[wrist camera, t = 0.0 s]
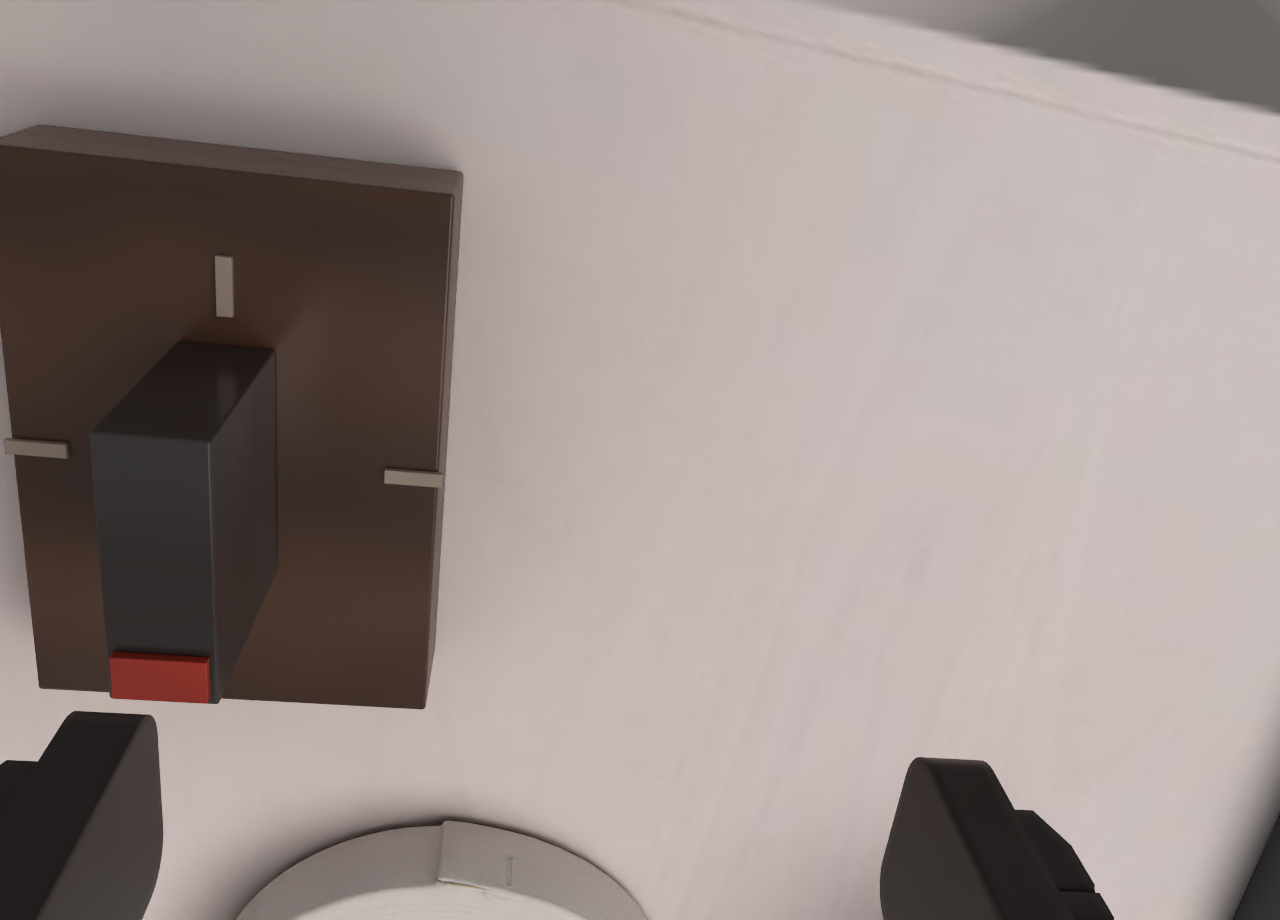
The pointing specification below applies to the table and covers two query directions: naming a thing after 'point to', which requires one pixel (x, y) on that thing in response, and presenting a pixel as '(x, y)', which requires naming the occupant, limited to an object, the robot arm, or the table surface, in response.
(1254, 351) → the table surface
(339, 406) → the panel
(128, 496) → the lock knob
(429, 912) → the tape roll
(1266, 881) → the button box
